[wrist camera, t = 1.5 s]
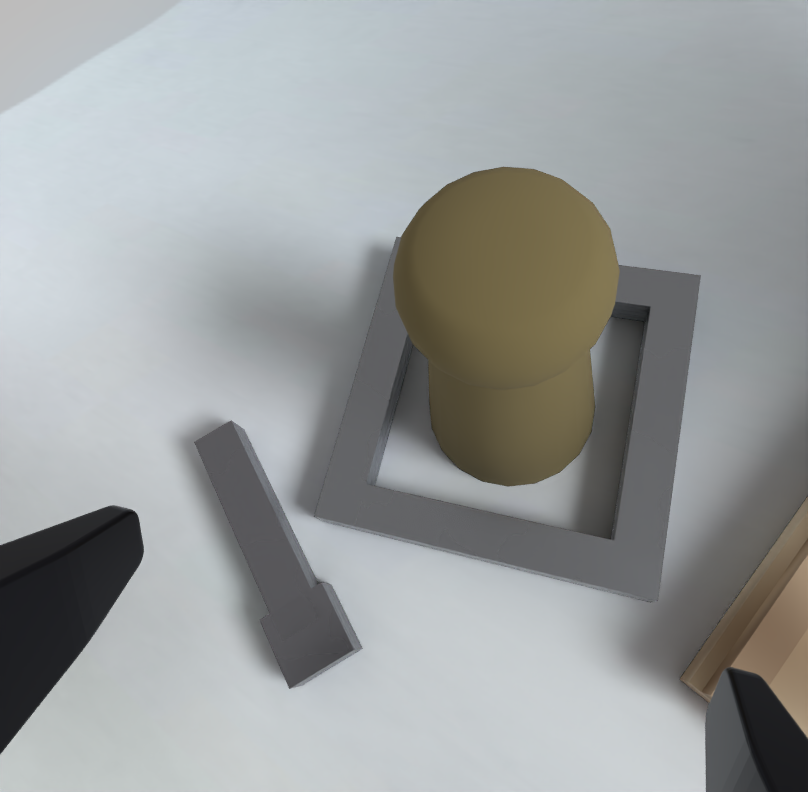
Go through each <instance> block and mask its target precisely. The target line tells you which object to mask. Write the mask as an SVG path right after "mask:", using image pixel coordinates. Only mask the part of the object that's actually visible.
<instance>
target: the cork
mask: <svg viewBox="0 0 808 792" xmlns="http://www.w3.org/2000/svg"><path fill="white" fill-rule="evenodd" d="M619 273H620V270H619V266H618V261H617V257H616V252H615V248H614V244H613V239H612V235H611V230H610V228H609V226H608V225H607V223H606V222H605V220H604V219H603V217H602V216H601V214H600V213H599V211H598V210H597V208H596V207H595V205H594V204H593V203H592V202H591V201H590V200H588V199H587V198H586V197H585V196H583V195H582V194H581V193H579V192H578V191H577V190H575V189H574V188H573V187H571V186H570V185H569V184H567V183H566V182H565V181H563V180H562V179H560V178H557V177H554V176H551V175H549V174H546V173H543V172H540V171H538V170H535V169H525V168H512V167H500V168H495V169H489V170H483V171H478V172H473V173H471V174H469V175H467V176H465V177H463V178H460V179H458V180H456V181H454V182H452V183H450V184H447V185H446V186H445V187H444V188H442V189H441V190H440V191H439V192H438V193H436V194H435V195H434V196H433V197H432V198H430V199H429V200H428V201H427V202H426V203H425V204H424V205H423V206H422V207H421V208H420V209H419V210H418V212H417V213H416V215H415V216H414V218H413V219H412V221H411V222H410V224H409V225H408V227H407V228H406V230H405V231H404V233H403V234H402V236H401V240H400V244H399V248H398V251H397V255H396V259H395V263H394V270H393V283H394V295H395V306H396V309H397V311H398V313H399V316H400V318H401V320H402V322H403V324H404V326H405V328H406V331H407V333H408V335H409V337H410V339H411V341H412V343H413V345H414V346H415V347H416V348H417V349H418V350H419V351H420V352H421V353H422V354H423V355H424V356H425V357H426V358H427V359H428V370H429V406H430V416H431V426H432V430H433V432H434V434H435V436H436V439H437V441H438V443H439V445H440V447H441V449H442V451H443V452H444V453H445V454H446V455H447V456H448V457H449V458H450V459H451V461H452V462H453V463H454V464H455V465H456V466H457V467H458V468H459V469H461V470H462V471H464V472H466V473H468V474H470V475H472V476H473V477H475V478H477V479H479V480H481V481H483V482H488V483H494V484H499V485H504V486H516V485H525V484H534V483H537V482H539V481H542V480H544V479H546V478H548V477H550V476H553V475H555V474H557V473H559V472H561V471H562V470H563V469H564V468H565V467H566V466H567V465H568V464H569V463H570V462H572V461H573V460H574V459H575V458H576V457H577V456H578V455H579V454H580V452H581V450H582V448H583V446H584V445H585V443H586V441H587V439H588V437H589V435H590V433H591V431H592V425H593V418H594V411H595V400H594V389H593V379H592V368H591V357H590V348H592V347H593V346H594V345H595V344H596V342H597V340H598V338H599V336H600V335H601V333H602V331H603V329H604V327H605V326H606V324H607V322H608V320H609V318H610V317H611V314H612V311H613V308H614V305H615V300H616V293H617V286H618V280H619Z"/></svg>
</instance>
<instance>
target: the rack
mask: <svg viewBox="0 0 808 792" xmlns="http://www.w3.org/2000/svg"><path fill="white" fill-rule="evenodd" d="M727 667H733V668H737V669H741V670H745V671H748V672H752V673H756V674H758V675H760V676H761V677H762V678H763V679H764V680H765V681H766V682H767V684H768V685H769V686H770V688H771V689H772V691H773V692H774V693H775V695H776V696H777V697H778V699H779V700H780V701H781V703H782V704H783V705H784V707H785V708H786V709H787V711H788V712H789V713H790V715H791V716H792V717H793V719H794V720H795V721H796V723H797V724H798V725H799V727H800V728H801V729H802V731H803V732H804V733H805V735H806V736H807V737H808V497H807V498H806V499H805V501H804V502H803V504H802V505H801V507H800V508H799V509H798V511H797V512H796V514H795V515H794V517H793V518H792V519H791V521H790V522H789V524H788V525H787V526H786V528H785V529H784V531H783V532H782V534H781V535H780V536H779V538H778V539H777V541H776V542H775V544H774V545H773V546H772V548H771V549H770V551H769V552H768V554H767V555H766V556H765V558H764V559H763V561H762V562H761V564H760V565H759V566H758V568H757V569H756V571H755V572H754V574H753V575H752V576H751V578H750V579H749V581H748V582H747V584H746V585H745V586H744V588H743V589H742V591H741V592H740V594H739V595H738V596H737V598H736V599H735V601H734V602H733V604H732V605H731V606H730V608H729V609H728V611H727V612H726V614H725V615H724V616H723V618H722V619H721V621H720V622H719V623H718V625H717V626H716V628H715V629H714V631H713V632H712V633H711V635H710V636H709V638H708V639H707V641H706V642H705V643H704V645H703V646H702V648H701V649H700V651H699V652H698V653H697V655H696V656H695V658H694V659H693V661H692V662H691V663H690V665H689V666H688V668H687V669H686V671H685V672H684V673H683V675H682V676H681V678H680V680H681V681H682V682H684V683H685V684H686V685H687V686H689V687H690V688H691V689H692V690H694V691H695V692H696V693H697V694H699V695H700V696H701V697H702V698H704V699H705V700H706V701H707V702H709V703H710V701H711V698H712V696H713V693H714V691H715V688H716V686H717V683H718V681H719V678H720V676H721V674H722V672H723V671H724V669H725V668H727Z"/></svg>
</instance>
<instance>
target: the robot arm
mask: <svg viewBox="0 0 808 792" xmlns="http://www.w3.org/2000/svg"><path fill="white" fill-rule="evenodd" d="M143 553H144V546H143V540H142V534H141V529H140V523H139V517H138V515H137V513H136V512H135V511H133V510H131V509H127V508H124V507H120V506H114V505H112V506H108V507H105V508H102V509H99V510H97V511H94V512H91V513H88V514H85V515H83V516H80V517H77V518H74V519H72V520H69V521H66V522H63V523H61V524H58V525H55V526H52V527H50V528H47V529H44V530H41V531H39V532H36V533H33V534H30V535H27V536H25V537H22V538H19V539H16V540H14V541H11V542H8V543H5V544H3V545H0V754H1V753H2V752H3V750H4V749H5V748H6V747H7V745H8V744H9V743H10V741H11V740H12V739H13V738H14V736H15V735H16V734H17V733H18V731H19V730H20V729H21V728H22V726H23V725H24V724H25V723H26V721H27V720H28V719H29V718H30V716H31V715H32V714H33V712H34V711H35V710H36V709H37V707H38V706H39V705H40V704H41V702H42V701H43V700H44V699H45V697H46V696H47V695H48V694H49V692H50V691H51V690H52V688H53V687H54V686H55V685H56V683H57V682H58V681H59V680H60V678H61V677H62V676H63V675H64V673H65V672H66V671H67V670H68V668H69V667H70V666H71V665H72V663H73V662H74V661H75V659H76V658H77V657H78V656H79V654H80V653H81V652H82V650H83V649H84V648H85V646H86V645H87V644H88V642H89V641H90V639H91V638H92V637H93V635H94V634H95V632H96V631H97V629H98V628H99V626H100V625H101V623H102V622H103V620H104V619H105V617H106V615H107V614H108V612H109V611H110V609H111V608H112V606H113V605H114V603H115V602H116V600H117V599H118V597H119V595H120V594H121V592H122V591H123V589H124V588H125V586H126V585H127V583H128V582H129V580H130V579H131V577H132V575H133V574H134V572H135V571H136V569H137V568H138V566H139V564H140V563H141V560H142V557H143ZM705 749H706V792H808V737H807V736H806V735H805V733H804V732H803V731H802V729H801V728H800V727H799V725H798V724H797V723H796V721H795V720H794V719H793V717H792V716H791V715H790V713H789V712H788V711H787V709H786V708H785V707H784V705H783V704H782V703H781V701H780V700H779V699H778V697H777V696H776V695H775V693H774V692H773V691H772V689H771V688H770V686H769V685H768V684H767V682H766V681H765V680H764V679H763V678H762V677H761V676H760V675H758V674H756V673H752V672H748V671H745V670H741V669H737V668H733V667H727V668H725V669H724V671H723V672H722V674H721V676H720V678H719V681H718V683H717V686H716V688H715V691H714V693H713V696H712V698H711V701H710V703H709V706H708V709H707V713H706V722H705Z"/></svg>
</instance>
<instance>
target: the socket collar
mask: <svg viewBox="0 0 808 792" xmlns="http://www.w3.org/2000/svg"><path fill="white" fill-rule="evenodd" d="M400 240H401V237H396V240H395V244H394V247H393V250H392V254H391V257H390V260H389V264H388V267H387V271H386V274H385V277H384V281H383V284H382V288H381V291H380V294H379V298H378V301H377V305H376V308H375V311H374V315H373V318H372V321H371V325H370V328H369V332H368V335H367V338H366V342H365V345H364V349H363V352H362V355H361V359H360V362H359V366H358V369H357V372H356V376H355V379H354V382H353V386H352V389H351V393H350V396H349V399H348V403H347V406H346V410H345V413H344V416H343V420H342V423H341V427H340V430H339V433H338V437H337V440H336V443H335V447H334V450H333V454H332V457H331V460H330V464H329V467H328V471H327V474H326V477H325V481H324V484H323V488H322V491H321V494H320V498H319V501H318V505H317V508H316V511H315V515H314V517H316V518H318V519H320V520H322V521H323V522H327V523H331V524H335V525H339V526H343V527H347V528H351V529H355V530H359V531H363V532H368V533H372V534H376V535H380V536H384V537H388V538H392V539H396V540H400V541H404V542H408V543H412V544H416V545H420V546H424V547H428V548H432V549H436V550H441V551H445V552H449V553H453V554H457V555H461V556H465V557H469V558H473V559H477V560H481V561H485V562H489V563H493V564H497V565H501V566H505V567H509V568H514V569H518V570H522V571H526V572H530V573H534V574H538V575H542V576H546V577H550V578H554V579H558V580H562V581H566V582H570V583H574V584H578V585H582V586H587V587H591V588H595V589H599V590H603V591H607V592H611V593H615V594H619V595H623V596H627V597H631V598H635V599H639V600H643V601H647V602H655V601H658V596H659V589H660V581H661V573H662V566H663V558H664V550H665V543H666V535H667V528H668V520H669V512H670V505H671V497H672V490H673V482H674V474H675V467H676V459H677V452H678V444H679V436H680V429H681V421H682V414H683V406H684V398H685V391H686V383H687V375H688V368H689V360H690V353H691V345H692V337H693V330H694V322H695V315H696V307H697V299H698V292H699V284H700V277H701V275H693V274H685V273H677V272H670V271H662V270H654V269H646V268H638V267H630V266H622V265H618V266H619V270H620V273H619V280H618V286H617V293H616V300H615V305H614V308H613V311H612V314H611V317H618V318H624V319H631V320H638V321H645V324H644V330H643V337H642V343H641V349H640V356H639V362H638V368H637V375H636V381H635V388H634V394H633V400H632V407H631V413H630V420H629V426H628V432H627V439H626V445H625V451H624V458H623V464H622V471H621V477H620V483H619V490H618V496H617V503H616V509H615V515H614V522H613V528H612V534H611V540H610V539H606V538H601V537H597V536H592V535H588V534H584V533H579V532H575V531H570V530H566V529H562V528H557V527H553V526H548V525H544V524H540V523H535V522H531V521H526V520H522V519H518V518H513V517H509V516H504V515H500V514H496V513H491V512H487V511H482V510H478V509H474V508H469V507H465V506H460V505H456V504H452V503H447V502H443V501H438V500H434V499H430V498H425V497H421V496H416V495H412V494H408V493H403V492H399V491H394V490H390V489H386V488H381V487H377V486H375V483H376V479H377V476H378V472H379V468H380V464H381V461H382V457H383V453H384V450H385V446H386V442H387V439H388V435H389V431H390V428H391V424H392V420H393V416H394V413H395V409H396V405H397V402H398V398H399V394H400V391H401V387H402V383H403V380H404V376H405V372H406V368H407V365H408V361H409V357H410V354H411V350H412V346H413V343H412V341H411V339H410V337H409V335H408V333H407V331H406V328H405V326H404V324H403V322H402V320H401V318H400V316H399V313H398V311H397V309H396V306H395V295H394V283H393V270H394V263H395V259H396V255H397V251H398V248H399V244H400Z"/></svg>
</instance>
